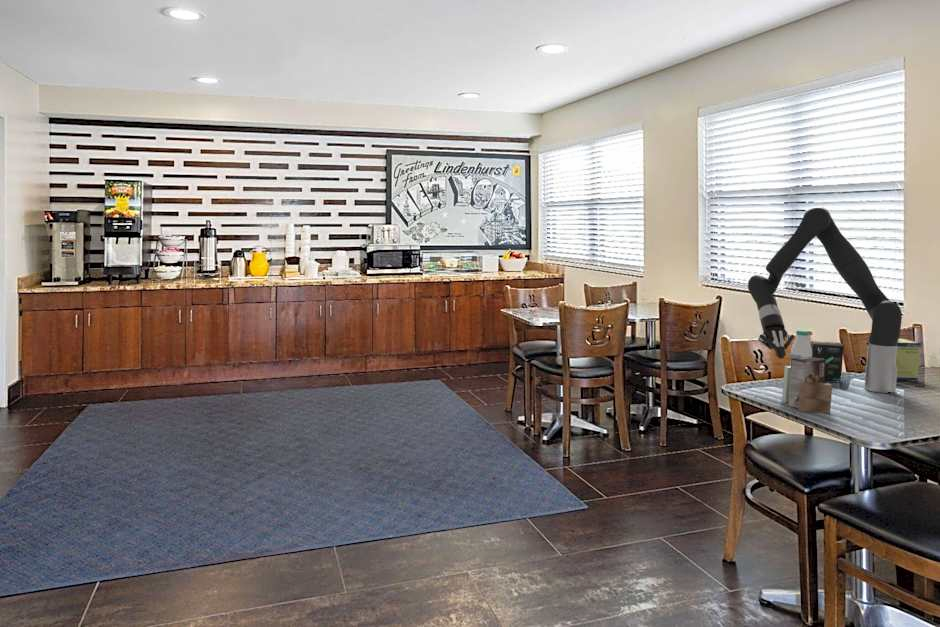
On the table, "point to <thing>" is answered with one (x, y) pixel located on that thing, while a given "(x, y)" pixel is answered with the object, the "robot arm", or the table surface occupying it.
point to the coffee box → (805, 375)
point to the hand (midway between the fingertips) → (781, 357)
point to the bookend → (786, 383)
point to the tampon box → (829, 358)
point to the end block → (814, 397)
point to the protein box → (907, 359)
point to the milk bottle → (801, 345)
